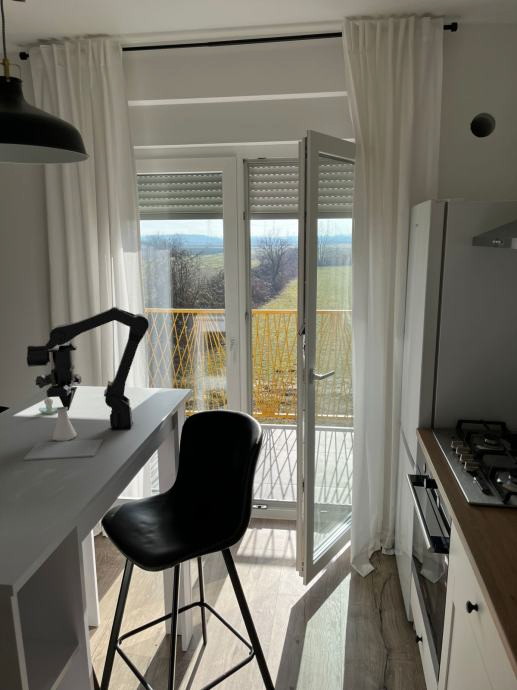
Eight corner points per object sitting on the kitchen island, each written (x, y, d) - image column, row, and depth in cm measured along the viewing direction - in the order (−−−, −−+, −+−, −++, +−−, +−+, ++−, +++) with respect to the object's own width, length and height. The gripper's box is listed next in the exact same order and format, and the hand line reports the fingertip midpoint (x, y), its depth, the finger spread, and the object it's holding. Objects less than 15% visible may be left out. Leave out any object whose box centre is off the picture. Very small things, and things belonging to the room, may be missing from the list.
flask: (48, 440, 169) (45, 410, 168) (62, 433, 176) (59, 404, 174) (67, 442, 167) (64, 412, 166) (81, 435, 174) (78, 405, 172)
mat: (103, 440, 168) (102, 439, 168) (93, 456, 156) (93, 455, 156) (38, 443, 167) (37, 442, 167) (23, 460, 154) (23, 458, 154)
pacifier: (42, 411, 202) (37, 415, 196) (41, 395, 201) (36, 399, 195) (62, 410, 202) (58, 414, 196) (61, 394, 201) (56, 398, 195)
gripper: (46, 359, 181) (50, 403, 184) (27, 371, 163) (32, 420, 166) (79, 358, 182) (83, 402, 185) (64, 370, 164) (68, 419, 166)
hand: (67, 410), depth 175 cm, fingers closed
